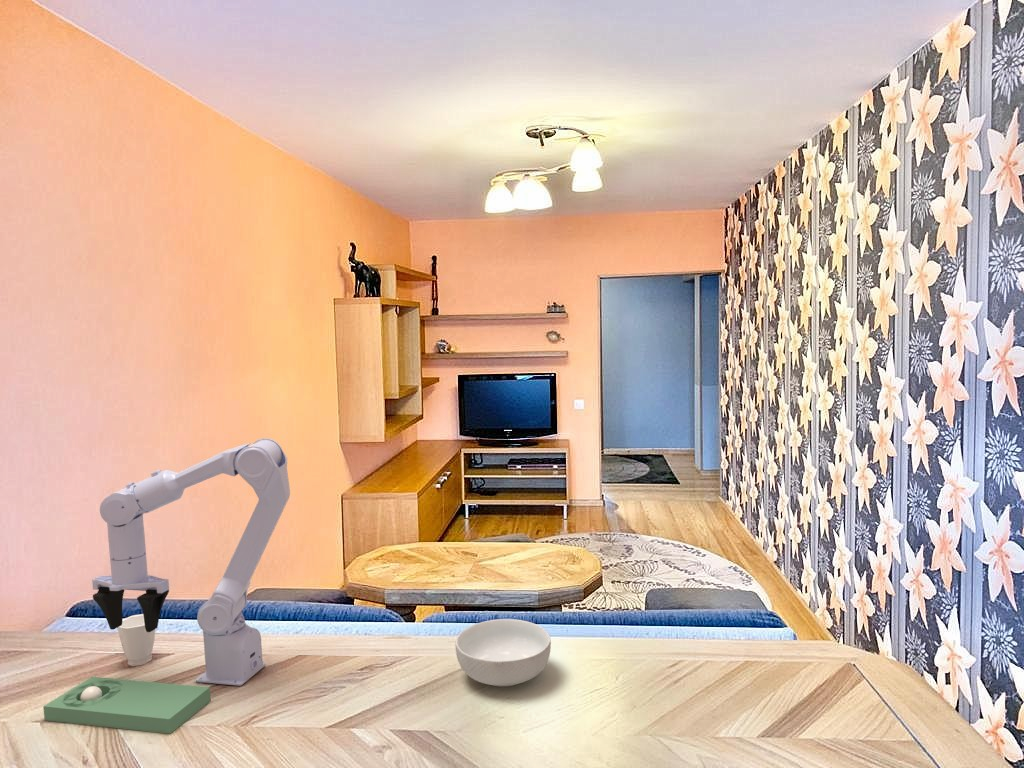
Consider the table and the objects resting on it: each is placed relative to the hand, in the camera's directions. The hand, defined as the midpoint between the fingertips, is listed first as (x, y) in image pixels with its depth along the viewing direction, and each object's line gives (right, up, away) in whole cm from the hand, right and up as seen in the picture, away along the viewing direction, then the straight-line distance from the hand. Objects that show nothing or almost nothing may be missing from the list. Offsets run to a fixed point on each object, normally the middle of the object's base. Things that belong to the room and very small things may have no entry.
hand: (134, 628), depth 127 cm
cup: (-5, -10, +10) cm, 15 cm away
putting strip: (+4, -11, -9) cm, 15 cm away
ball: (-3, -9, -8) cm, 12 cm away
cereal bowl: (+67, -8, -2) cm, 68 cm away
